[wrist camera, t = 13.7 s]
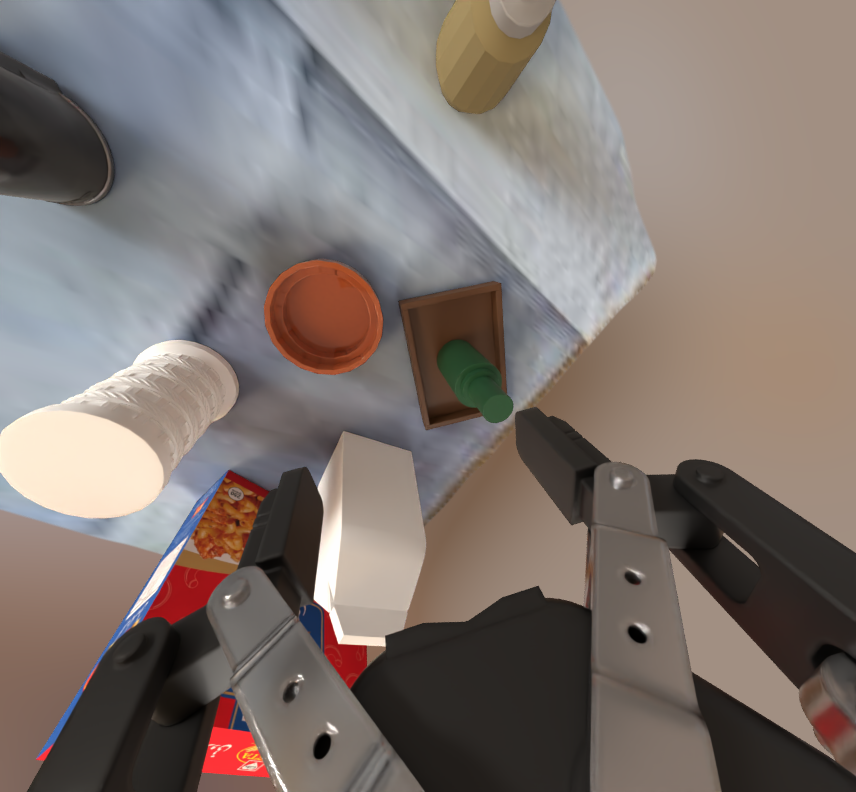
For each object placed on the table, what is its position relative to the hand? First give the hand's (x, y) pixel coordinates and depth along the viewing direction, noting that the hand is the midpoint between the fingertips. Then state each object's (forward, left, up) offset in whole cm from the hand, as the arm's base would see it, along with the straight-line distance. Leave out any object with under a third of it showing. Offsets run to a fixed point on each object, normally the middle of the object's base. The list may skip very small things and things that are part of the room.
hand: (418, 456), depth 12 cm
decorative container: (+5, -26, -34) cm, 43 cm away
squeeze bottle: (-21, +15, -34) cm, 43 cm away
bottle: (+10, +10, -33) cm, 36 cm away
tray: (+10, +10, -34) cm, 37 cm away
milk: (+26, -8, -34) cm, 44 cm away
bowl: (0, -6, -34) cm, 34 cm away
